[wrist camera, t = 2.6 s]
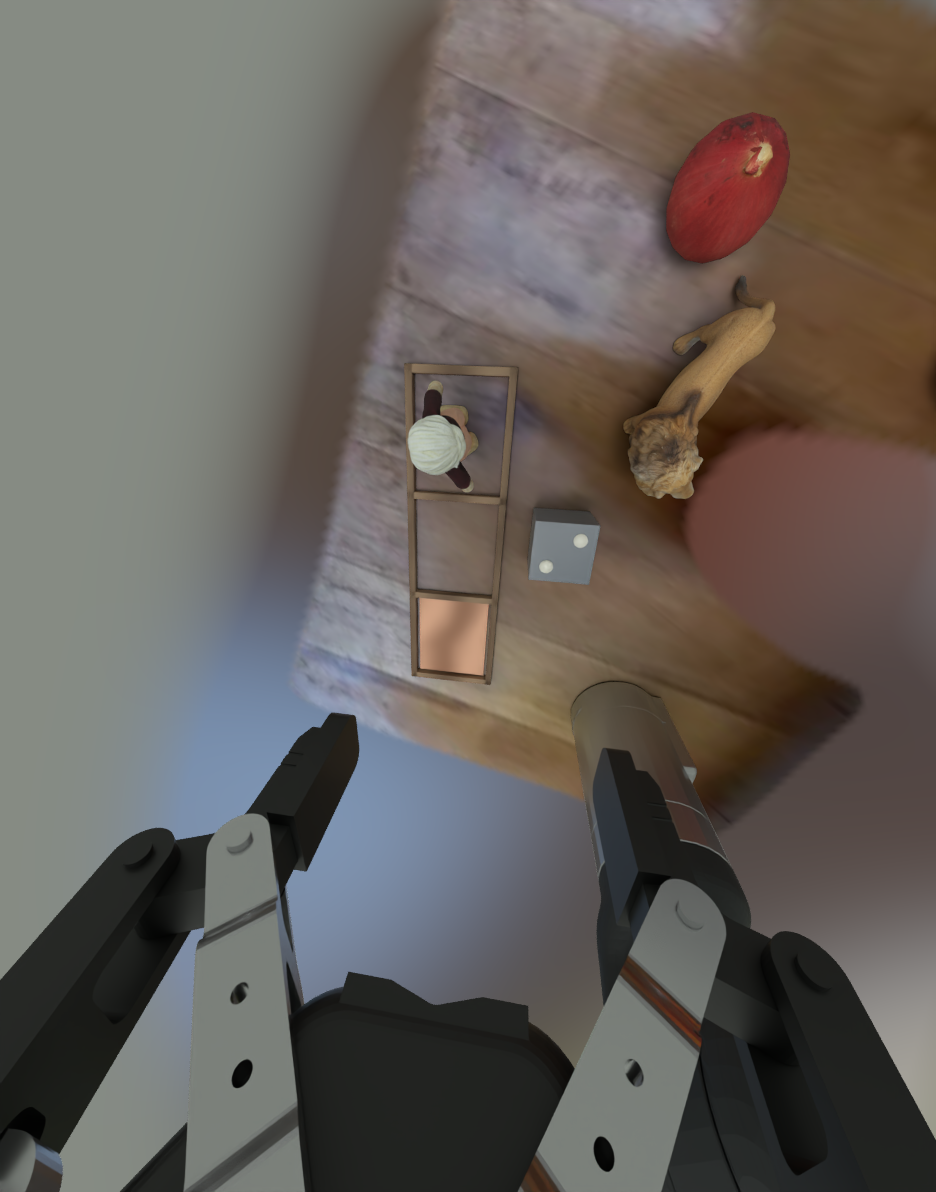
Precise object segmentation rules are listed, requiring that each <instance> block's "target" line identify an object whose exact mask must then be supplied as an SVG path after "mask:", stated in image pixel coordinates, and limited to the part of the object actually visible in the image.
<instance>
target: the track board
mask: <svg viewBox="0 0 936 1192" xmlns="http://www.w3.org/2000/svg"><path fill="white" fill-rule="evenodd" d="M404 371H405V413H406V456H407V498H408V541H409V584H410V626H411V669H412V676H417V677H426V678H434V679H443V680H452V681H461V682H469V683H478V684H487V685H490V684H491V673H492V661H493V650H494V638H495V627H496V615H497V604H498V592H499V581H500V569H501V558H502V546H503V535H504V523H505V512H506V500H507V489H508V477H509V466H510V454H511V443H512V431H513V420H514V408H515V397H516V385H517V374H518V368H515V367H488V366H461V365H434V364H407V363H404ZM414 373H416V374H441V375H466V376H492V377H509V388H508V400H507V413H506V426H505V438H504V451H503V464H502V476H501V489H500V496H488V495H473V494H459V493H444V492H429V491H416V467H415V465H414V464H413V463H412V461H411V457H410V451H409V448H408V436H409V431H410V429H411V427H412V426H413V425H414V424H415V385H414ZM416 499H424V500H438V501H452V502H466V503H481V504H495V505H499V514H498V527H497V539H496V552H495V565H494V577H493V590H492V596H488V595H477V594H466V593H456V592H445V591H434V590H423V589H417V529H416ZM417 598H420V668H418V600H417ZM489 604H490V605H491V615H490V628H489V640H488V653H487V665H486V676H485V675H483V672H484V659H485V646H486V633H487V620H488V607H489Z"/></svg>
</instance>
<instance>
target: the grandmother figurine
mask: <svg viewBox="0 0 936 1192" xmlns="http://www.w3.org/2000/svg"><path fill="white" fill-rule="evenodd" d="M442 393H443V386H442V384H441V383H440V382H439V381H432V382H431V383H430V385H429V388H428V391H427V392H426V394H425V398H424V411H423V416H422V419H420V420H418V421H417V422H416V423H415V424H414V425H413V426H412V427H411V429H410V431H409V436H408V448H409V451H410V457H411V461H412V463H413V464H414V465H415V467H416V468H418V469H419V470H421V471H423V472H426V473H428V474H431V475H440V474H443V473H446V474H447V475H448V476H449V477H450V478H451V479H452V480H453V482H454V483H455V485H456V486H457V487H458V488H460V489H461V490H462V491H463V492H466V493H467V492H470V491H472V489H473V487H474V484H473V481H472V480H471V478H470V476H469V474H468V473H467V471H466V469H465V468H464V466H463V465H462V463H461V461H463V460H464V459H465V458H466V457H467V456H468V455H469V454H471V453H472V452H474V451H475V450H476V449H477V447H478V439H477V437H476V435H475V434H474V433H472V432H468V431H467V428H466V427H465V425H466V424H467V422H468V412H467V410H466V408H465V407H463V406H456V405H443V406H441V403H442Z"/></svg>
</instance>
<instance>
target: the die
mask: <svg viewBox="0 0 936 1192" xmlns="http://www.w3.org/2000/svg"><path fill="white" fill-rule="evenodd" d="M599 530H600V525H599V523H598V522H597V521H596V519H595V518H594V517H593V515H592V514H591V513H590V512H588V511H574V510H560V509H546V508H533V517H532V525H531V534H530V542H529V551H528V559H527V561H528V579H530V580H542V581H553V582H564V583H576V584H587V585H589V581H590V576H591V571H592V566H593V561H594V556H595V551H596V546H597V541H598V536H599Z"/></svg>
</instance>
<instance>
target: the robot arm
mask: <svg viewBox="0 0 936 1192" xmlns="http://www.w3.org/2000/svg"><path fill="white" fill-rule="evenodd" d="M571 721H572V730H573V735H574V739H575V745H576V751H577V757H578V763H579V769H580V775H581V781H582V787H583V793H584V798H585V804H586V810H587V816H588V821H589V828H590V833H591V840H592V844H593V851H594V857H595V863H596V869H597V874H598V880H599V886H600V892H601V905H600V909H599V914H598V919H597V948H598V958H599V965H600V976H601V985H602V995H603V1005H604V1008H603V1010H602V1012H601V1014H600V1016H599V1018H598V1021H597V1023H596V1025H595V1027H594V1029H593V1031H592V1034H591V1036H590V1038H589V1040H588V1042H587V1044H586V1046H585V1049H584V1051H583V1053H582V1055H581V1057H580V1059H579V1062H578V1064H577V1066H576V1068H574V1067H573V1065H572V1064H571V1062H570V1061H569V1059H568V1058H567V1057H566V1055H565V1054H564V1053H563V1052H562V1050H561V1049H560V1048H559V1046H558V1045H557V1044H556V1043H555V1042H554V1041H552V1039H551V1038H550V1037H549V1036H548V1035H547V1034H545V1033H544V1032H543V1031H542V1030H540V1029H539V1028H538V1027H536V1026H535V1025H533V1024H531V1023H530V1022H528V1006H526V1005H521V1004H515V1003H510V1002H505V1001H500V1000H494V999H489V998H484V997H482V998H475V999H470V1000H464V1001H458V1002H453V1003H447V1004H441V1005H433V1004H430V1003H428V1002H427V1001H425V1000H423V999H422V998H420V997H419V996H417V995H415V994H414V993H412V992H410V991H409V990H407V989H405V988H404V987H402V986H400V985H399V984H397V983H395V982H394V981H392V980H389V979H384V978H379V977H373V976H368V975H363V974H358V973H352V972H348V975H347V978H346V981H345V984H344V987H340V988H336V989H333V990H330V991H327V992H325V993H323V994H321V995H319V996H317V997H315V998H313V999H312V1000H310V1001H309V1002H307V1003H306V1004H304V998H303V992H302V986H301V981H300V976H299V971H298V966H297V960H296V953H295V946H294V939H293V932H292V924H291V917H290V910H289V902H288V895H287V887H286V883H287V882H288V879H289V878H290V876H291V874H292V872H293V870H300V871H307V870H308V867H309V865H310V863H311V861H312V859H313V857H314V855H315V853H316V850H317V848H318V846H319V844H320V842H321V840H322V838H323V835H324V833H325V831H326V829H327V827H328V825H329V823H330V821H331V819H332V816H333V814H334V812H335V810H336V808H337V806H338V804H339V802H340V799H341V797H342V795H343V793H344V791H345V789H346V787H347V785H348V782H349V780H350V778H351V776H352V774H353V772H354V770H355V767H356V765H357V761H358V757H359V742H358V732H357V723H356V717H355V716H354V715H349V714H341V713H331V714H330V715H329V716H328V717H327V719H326V720H325V722H324V723H323V725H322V727H321V728H318V727H312V728H310V729H309V730H308V731H307V732H305V733H304V734H303V735H301V736H300V737H299V738H298V739H297V741H296V742H295V743H294V745H293V746H292V748H291V749H290V751H289V754H288V755H286V756H285V758H284V759H283V761H282V762H281V765H280V766H279V767H278V768H277V769H276V771H275V772H274V774H273V775H272V777H271V778H270V780H269V781H268V782H267V784H266V785H265V787H264V788H263V790H262V791H261V793H260V794H259V795H258V797H257V798H256V800H255V801H254V803H253V804H252V806H251V807H250V808H249V810H248V811H247V812H246V813H245V814H244V815H241V816H238V817H236V818H234V819H232V820H230V821H229V822H227V823H226V824H224V825H223V826H222V827H221V828H220V829H219V830H218V831H217V832H216V833H213V834H209V835H203V836H197V837H192V838H186V839H180V840H175V838H174V836H173V834H172V832H171V831H169V830H167V829H164V828H153V829H149V830H145V831H143V832H140V833H138V834H136V835H134V836H132V837H131V838H129V839H127V840H126V841H125V842H123V843H122V844H121V845H120V846H118V847H117V848H116V849H115V850H114V851H113V852H112V853H111V854H110V856H109V857H108V858H107V859H106V860H105V861H104V862H103V863H102V865H101V866H100V867H99V868H98V869H97V870H96V872H95V873H94V874H93V875H92V876H91V877H90V878H89V880H88V881H87V882H86V883H85V884H84V885H83V886H82V888H81V889H80V890H79V891H78V892H77V893H76V894H75V895H74V897H73V898H72V899H71V900H70V901H69V902H68V903H67V905H66V906H65V907H64V908H63V909H62V910H61V911H60V913H59V914H58V915H57V916H56V917H55V918H54V919H53V921H52V922H51V923H50V924H49V925H48V926H47V928H46V929H45V930H44V931H43V932H42V933H41V934H40V935H39V937H38V938H37V939H36V940H35V941H34V942H33V943H32V945H31V946H30V947H29V948H28V949H27V950H26V952H25V953H24V954H23V955H22V956H21V957H20V958H19V959H18V960H17V962H16V963H15V964H14V965H13V966H12V967H11V969H10V970H9V971H8V972H7V973H6V974H5V975H4V976H3V978H2V979H1V980H0V1192H59V1191H60V1188H61V1183H62V1176H63V1166H62V1161H61V1158H60V1156H59V1154H60V1152H61V1150H62V1149H63V1147H64V1145H65V1143H66V1142H67V1140H68V1138H69V1137H70V1135H71V1133H72V1132H73V1130H74V1128H75V1127H76V1125H77V1123H78V1121H79V1120H80V1118H81V1116H82V1115H83V1113H84V1111H85V1110H86V1108H87V1106H88V1104H89V1103H90V1101H91V1100H92V1098H93V1096H94V1094H95V1093H96V1091H97V1089H98V1088H99V1086H100V1084H101V1082H102V1081H103V1079H104V1077H105V1076H106V1074H107V1072H108V1071H109V1069H110V1067H111V1066H112V1064H113V1062H114V1060H115V1059H116V1057H117V1055H118V1054H119V1052H120V1050H121V1049H122V1047H123V1045H124V1044H125V1042H126V1040H127V1038H128V1037H129V1035H130V1033H131V1032H132V1030H133V1028H134V1026H135V1025H136V1023H137V1021H138V1020H139V1018H140V1016H141V1015H142V1013H143V1011H144V1010H145V1008H146V1006H147V1004H148V1003H149V1001H150V999H151V998H152V996H153V994H154V993H155V991H156V989H157V987H158V986H159V984H160V982H161V981H162V979H163V977H164V976H165V974H166V972H167V971H168V969H169V967H170V966H171V964H172V962H173V960H174V959H175V957H176V955H177V954H178V952H179V950H180V949H181V947H182V945H183V943H184V942H185V940H186V938H187V937H188V935H189V933H190V932H191V930H195V929H199V928H204V935H203V939H201V940H199V942H198V944H197V947H196V954H195V970H194V992H193V1016H192V1037H191V1059H190V1080H189V1102H188V1122H187V1123H186V1124H185V1125H184V1126H183V1127H182V1128H181V1129H180V1130H179V1131H178V1132H177V1133H176V1134H175V1135H174V1136H173V1137H172V1138H171V1139H170V1140H169V1142H168V1143H166V1145H164V1147H163V1148H162V1149H161V1150H160V1151H159V1152H158V1153H157V1154H156V1155H155V1156H154V1157H153V1158H152V1159H151V1160H150V1161H149V1162H148V1163H147V1164H146V1165H145V1166H144V1167H143V1168H142V1169H141V1170H140V1171H139V1173H138V1174H136V1175H135V1177H134V1178H133V1179H132V1180H131V1181H130V1182H129V1183H128V1184H127V1185H126V1186H125V1187H124V1188H123V1189H122V1190H121V1191H120V1192H936V1140H935V1138H934V1136H933V1134H932V1132H931V1130H930V1129H929V1127H928V1125H927V1123H926V1121H925V1119H924V1117H923V1116H922V1114H921V1112H920V1110H919V1108H918V1106H917V1104H916V1103H915V1101H914V1099H913V1097H912V1095H911V1093H910V1092H909V1090H908V1088H907V1086H906V1084H905V1082H904V1080H903V1079H902V1077H901V1075H900V1073H899V1071H898V1069H897V1067H896V1066H895V1064H894V1062H893V1060H892V1058H891V1056H890V1055H889V1053H888V1051H887V1049H886V1047H885V1045H884V1043H883V1042H882V1040H881V1038H880V1036H879V1034H878V1032H877V1031H876V1029H875V1027H874V1025H873V1023H872V1021H871V1019H870V1018H869V1016H868V1014H867V1012H866V1010H865V1008H864V1006H863V1005H862V1003H861V1001H860V999H859V997H858V995H857V994H856V992H855V990H854V988H853V986H852V984H851V982H850V981H849V979H848V977H847V976H846V974H845V973H844V972H843V970H842V969H841V967H840V966H839V965H838V964H837V962H836V961H835V960H834V959H833V958H832V957H831V956H830V955H829V954H828V953H827V952H826V951H825V950H823V949H822V948H821V947H820V946H818V945H817V944H816V943H814V942H813V941H811V940H810V939H808V938H806V937H804V936H802V935H800V934H797V933H794V932H788V931H783V932H779V933H777V934H776V935H774V936H773V938H772V939H770V938H768V937H766V936H764V935H762V934H760V933H758V932H756V931H754V930H752V929H750V926H751V913H750V908H749V905H748V902H747V899H746V897H745V894H744V892H743V890H742V888H741V886H740V883H739V881H738V879H737V877H736V875H735V873H734V871H733V869H732V867H731V865H730V863H729V861H728V858H727V856H726V854H725V852H724V850H723V848H722V846H721V844H720V842H719V839H718V837H717V835H716V833H715V831H714V829H713V827H712V825H711V823H710V820H709V818H708V816H707V814H706V812H705V810H704V808H703V806H702V803H701V801H700V799H699V797H698V795H697V793H696V791H695V789H694V786H693V784H692V783H693V781H694V779H695V776H696V774H697V770H696V767H695V765H694V763H693V761H692V759H691V757H690V755H689V753H688V751H687V749H686V747H685V745H684V743H683V741H682V739H681V737H680V735H679V733H678V731H677V729H676V727H675V725H674V723H673V721H672V719H671V717H670V715H669V713H668V711H667V709H666V707H665V705H664V703H663V701H662V699H661V698H657V697H652V696H650V695H649V694H648V693H646V692H645V691H644V690H643V689H641V688H639V687H637V686H635V685H632V684H629V683H623V682H607V683H602V684H598V685H595V686H593V687H590V688H589V689H587V690H586V691H584V692H583V693H582V694H581V695H580V696H579V697H578V698H577V699H576V701H575V702H574V704H573V706H572V709H571Z"/></svg>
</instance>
